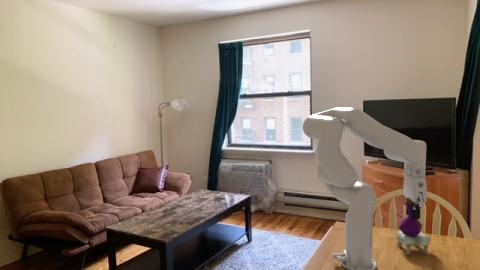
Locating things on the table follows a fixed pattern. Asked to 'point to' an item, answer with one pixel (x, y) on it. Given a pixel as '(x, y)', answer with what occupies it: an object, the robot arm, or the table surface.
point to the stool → (413, 241)
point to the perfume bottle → (410, 222)
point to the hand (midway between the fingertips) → (413, 216)
